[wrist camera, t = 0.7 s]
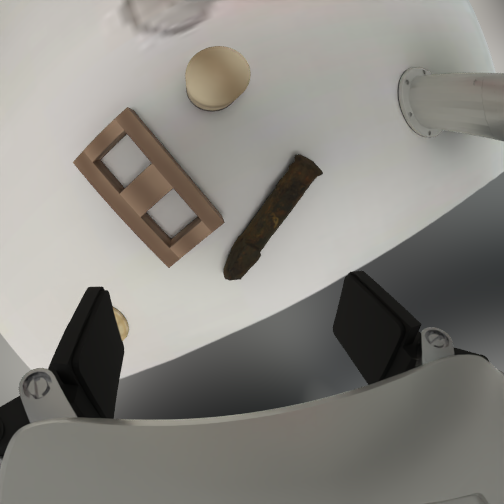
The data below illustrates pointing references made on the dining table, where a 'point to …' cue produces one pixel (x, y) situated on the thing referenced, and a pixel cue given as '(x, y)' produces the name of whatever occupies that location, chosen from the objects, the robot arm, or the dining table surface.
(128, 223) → the walnut board
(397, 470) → the robot arm
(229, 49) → the oak peg
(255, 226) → the hand tool
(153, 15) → the dining table surface
